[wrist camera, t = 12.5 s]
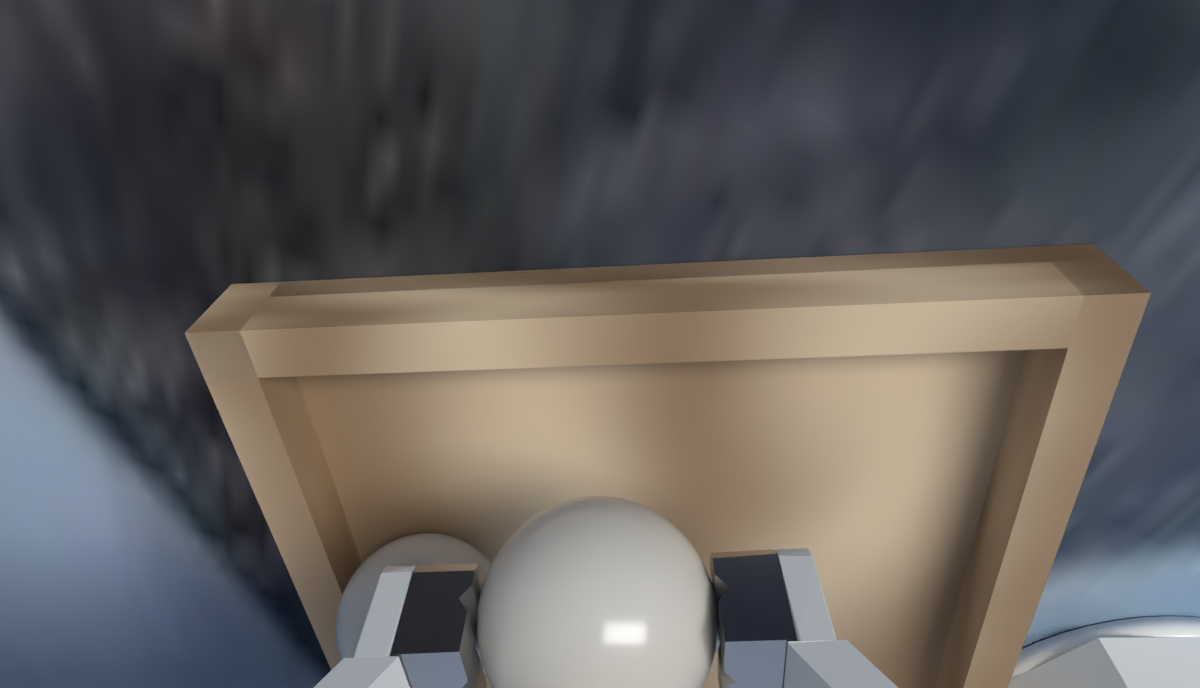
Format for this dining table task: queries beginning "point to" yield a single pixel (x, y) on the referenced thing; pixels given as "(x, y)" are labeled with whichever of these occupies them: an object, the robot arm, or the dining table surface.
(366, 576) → the pebble
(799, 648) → the robot arm
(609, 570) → the pebble
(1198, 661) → the bowl
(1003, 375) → the tray
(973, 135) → the dining table surface
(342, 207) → the dining table surface
